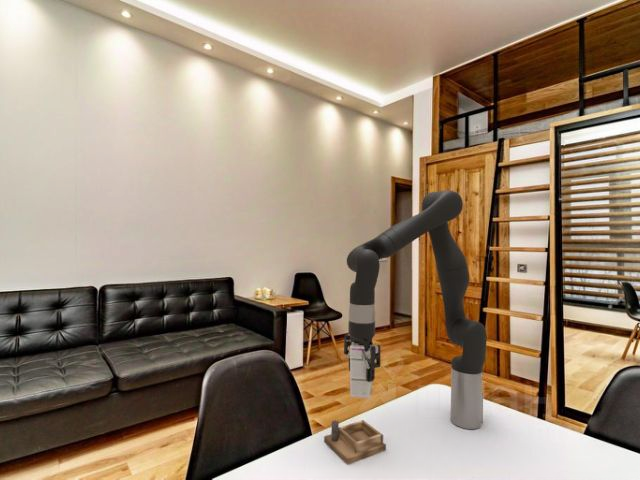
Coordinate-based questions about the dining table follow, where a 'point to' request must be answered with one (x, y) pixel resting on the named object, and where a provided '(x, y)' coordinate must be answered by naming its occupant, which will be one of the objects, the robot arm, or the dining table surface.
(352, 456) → the board
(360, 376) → the syrup box
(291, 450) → the dining table surface
